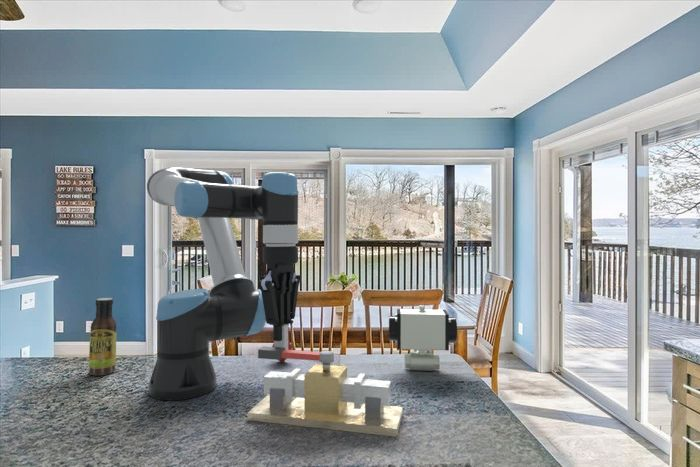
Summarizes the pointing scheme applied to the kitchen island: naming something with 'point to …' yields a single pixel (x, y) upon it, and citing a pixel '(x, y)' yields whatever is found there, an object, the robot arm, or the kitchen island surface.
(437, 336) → the ball valve
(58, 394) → the kitchen island surface
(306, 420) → the valve pipe
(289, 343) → the onion
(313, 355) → the lever
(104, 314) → the sauce bottle
